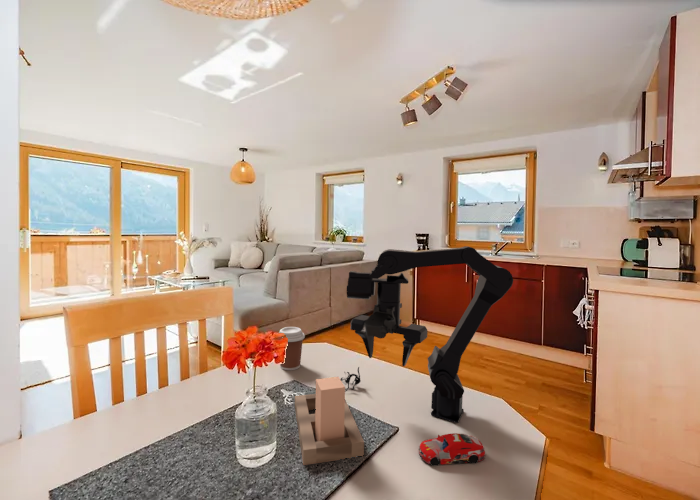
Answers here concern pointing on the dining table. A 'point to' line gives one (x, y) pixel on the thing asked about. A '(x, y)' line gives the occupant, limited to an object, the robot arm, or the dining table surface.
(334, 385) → the block
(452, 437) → the race car
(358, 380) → the creature
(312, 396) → the puzzle board
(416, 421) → the dining table surface
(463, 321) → the robot arm
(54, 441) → the dining table surface
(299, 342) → the coffee cup
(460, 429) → the dining table surface
